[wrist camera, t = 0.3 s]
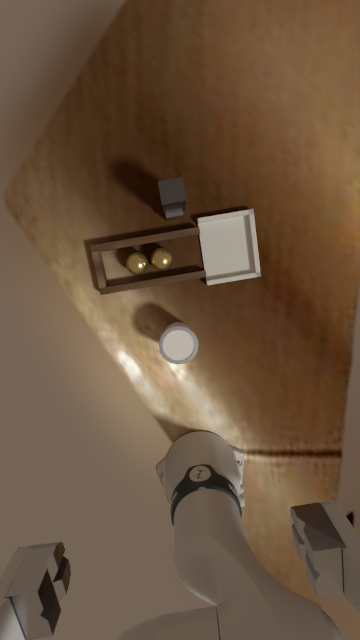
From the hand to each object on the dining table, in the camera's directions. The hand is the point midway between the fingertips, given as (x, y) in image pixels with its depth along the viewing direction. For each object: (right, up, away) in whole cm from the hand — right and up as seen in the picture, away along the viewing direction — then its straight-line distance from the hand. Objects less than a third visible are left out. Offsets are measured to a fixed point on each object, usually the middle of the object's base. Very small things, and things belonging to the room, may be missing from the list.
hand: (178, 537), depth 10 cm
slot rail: (-6, +19, +44) cm, 48 cm away
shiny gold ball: (-3, +19, +44) cm, 48 cm away
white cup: (0, +5, +47) cm, 47 cm away
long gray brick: (-1, +28, +42) cm, 51 cm away
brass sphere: (-8, +18, +44) cm, 48 cm away
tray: (+9, +21, +44) cm, 50 cm away
